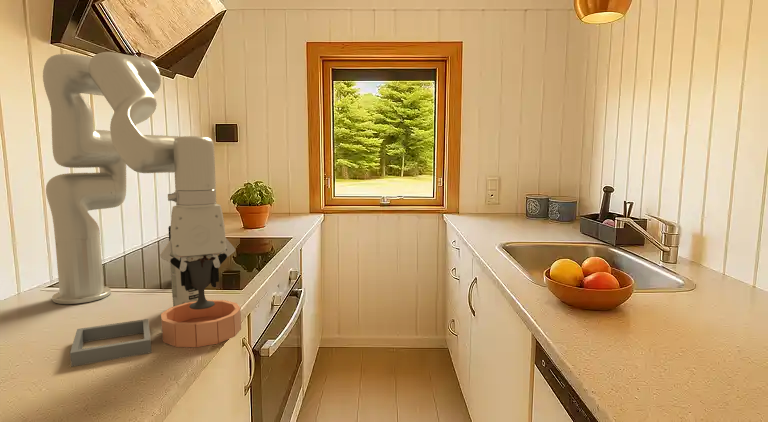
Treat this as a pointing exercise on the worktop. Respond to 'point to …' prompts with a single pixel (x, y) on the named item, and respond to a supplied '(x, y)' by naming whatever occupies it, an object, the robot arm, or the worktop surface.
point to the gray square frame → (112, 350)
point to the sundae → (200, 278)
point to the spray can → (177, 290)
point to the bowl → (200, 324)
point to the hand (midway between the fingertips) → (200, 286)
